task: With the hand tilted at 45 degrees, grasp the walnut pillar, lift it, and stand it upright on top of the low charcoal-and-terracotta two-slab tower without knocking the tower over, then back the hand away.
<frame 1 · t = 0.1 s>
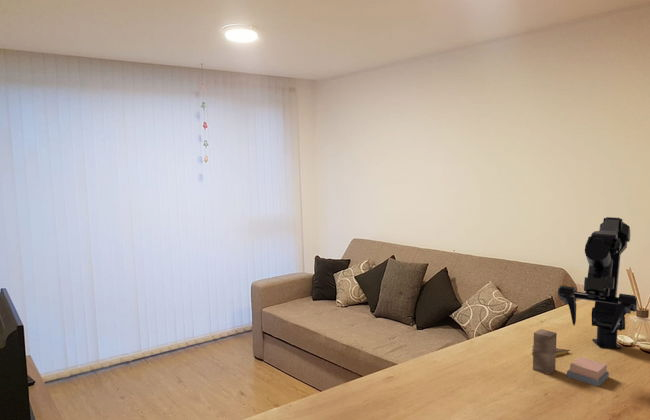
hand: (592, 328, 127), 15 cm above the table, tool tilted 35°, fingers open, 9 cm apart
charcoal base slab: (587, 379, 131), on the table, touching terracotta top slab
terracotta top slab: (588, 371, 131), point 2 cm above the table, touching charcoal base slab
shard: (545, 353, 149), on the table
walnut pillar: (543, 369, 136), on the table
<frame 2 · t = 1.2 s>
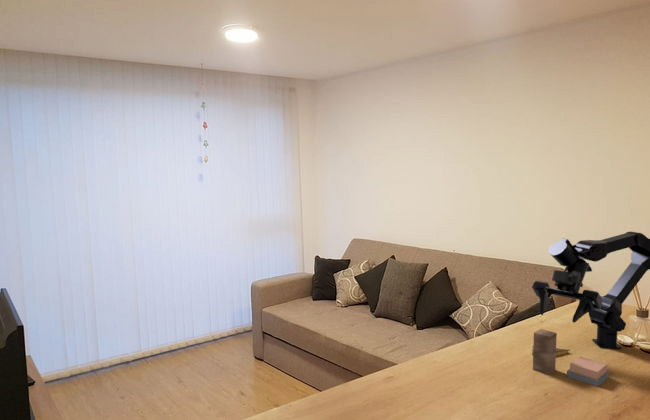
hand: (556, 317, 140), 14 cm above the table, tool tilted 45°, fingers open, 9 cm apart
nothing on the table moved.
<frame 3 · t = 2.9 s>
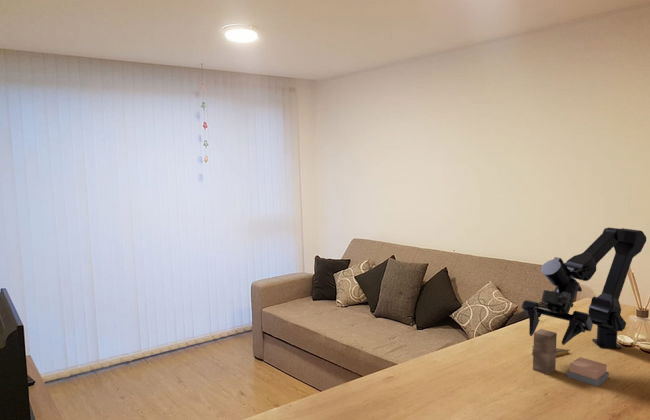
hand: (546, 339, 136), 9 cm above the table, tool tilted 45°, fingers open, 9 cm apart
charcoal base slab: (587, 379, 131), on the table
terracotta top slab: (587, 371, 131), point 1 cm above the table
everything else where it was.
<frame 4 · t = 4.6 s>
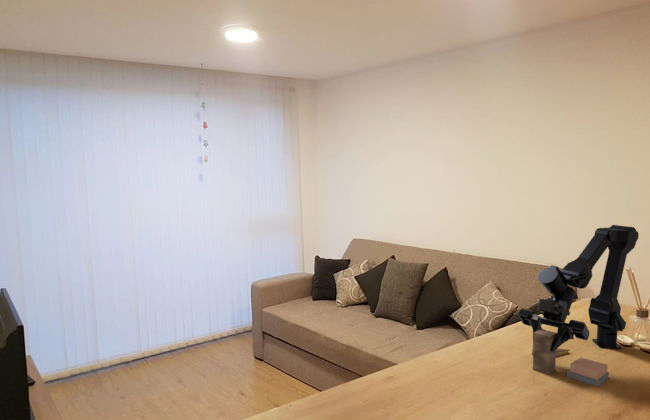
hand: (542, 348, 135), 7 cm above the table, tool tilted 45°, fingers closed on walnut pillar, 4 cm apart
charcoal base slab: (587, 379, 131), on the table, touching terracotta top slab
terracotta top slab: (588, 371, 131), point 1 cm above the table, touching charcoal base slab
walnut pillar: (543, 369, 136), on the table, touching gripper
everything else where it was.
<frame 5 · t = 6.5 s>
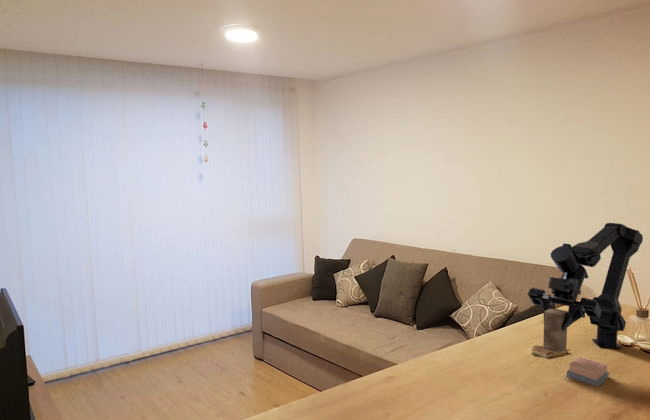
hand: (553, 327, 133), 13 cm above the table, tool tilted 45°, fingers closed on walnut pillar, 4 cm apart
walnut pillar: (554, 348, 134), point 7 cm above the table, touching gripper
everything else where it was.
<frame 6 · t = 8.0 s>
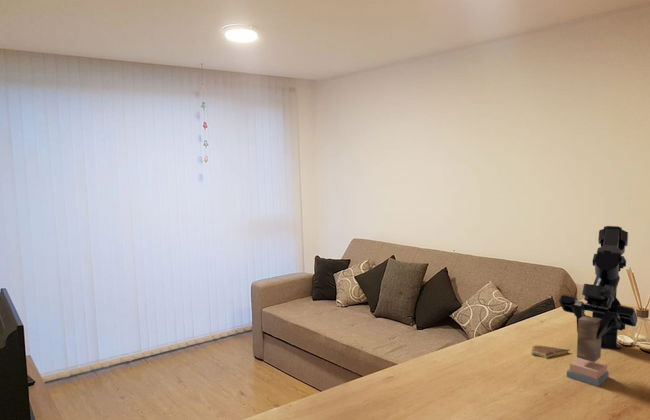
hand: (587, 335, 129), 12 cm above the table, tool tilted 45°, fingers closed on walnut pillar, 4 cm apart
walnut pillar: (588, 357, 131), point 6 cm above the table, touching gripper
everything else where it was.
when the fingers open (12 cm above the table, at t = 8.8 s): walnut pillar drops 2 cm, resting on terracotta top slab.
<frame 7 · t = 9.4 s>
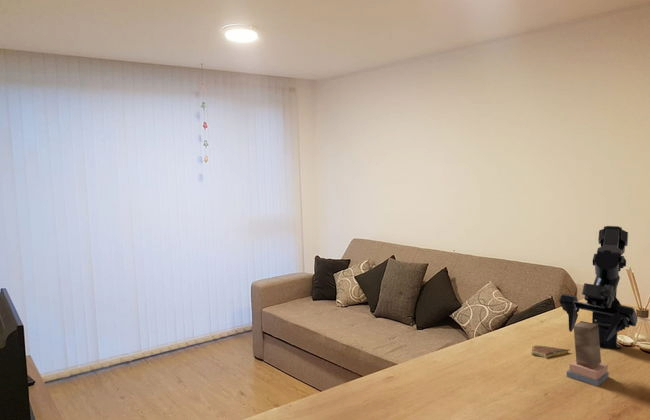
hand: (587, 335, 129), 12 cm above the table, tool tilted 45°, fingers open, 9 cm apart
terracotta top slab: (588, 371, 131), point 1 cm above the table, touching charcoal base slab, walnut pillar
walnut pillar: (588, 363, 131), point 4 cm above the table, tilted 6°, touching terracotta top slab
everything else where it was.
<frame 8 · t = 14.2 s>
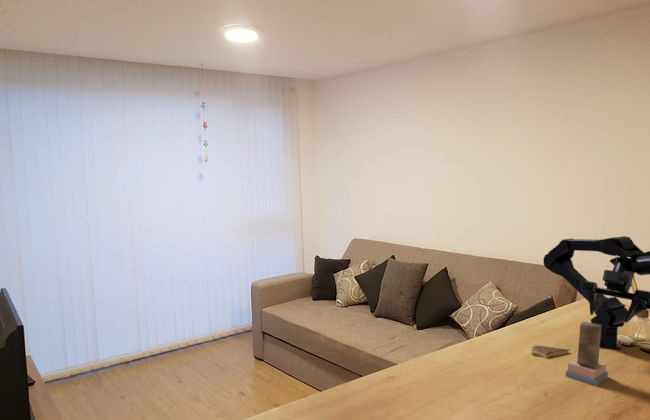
hand: (608, 318, 139), 14 cm above the table, tool tilted 45°, fingers open, 9 cm apart
at the end: walnut pillar 0.6 cm off-centre on the terracotta top slab, point 2.5 cm above the terracotta top slab's base; walnut pillar tilted 6°; terracotta top slab 0.3 cm off-centre on the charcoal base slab, point 2.2 cm above the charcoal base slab's base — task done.
